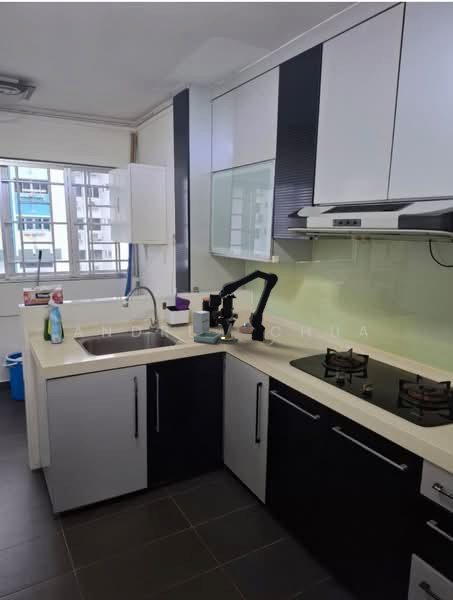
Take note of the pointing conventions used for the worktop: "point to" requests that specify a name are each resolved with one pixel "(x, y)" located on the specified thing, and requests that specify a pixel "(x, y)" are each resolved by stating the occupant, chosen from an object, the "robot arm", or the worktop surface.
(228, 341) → the checker cradle
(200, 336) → the teal shallow square tray
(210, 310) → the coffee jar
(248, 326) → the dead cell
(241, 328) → the pink open-ended box
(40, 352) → the worktop surface
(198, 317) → the supplement box
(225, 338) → the brass disc
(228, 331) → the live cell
